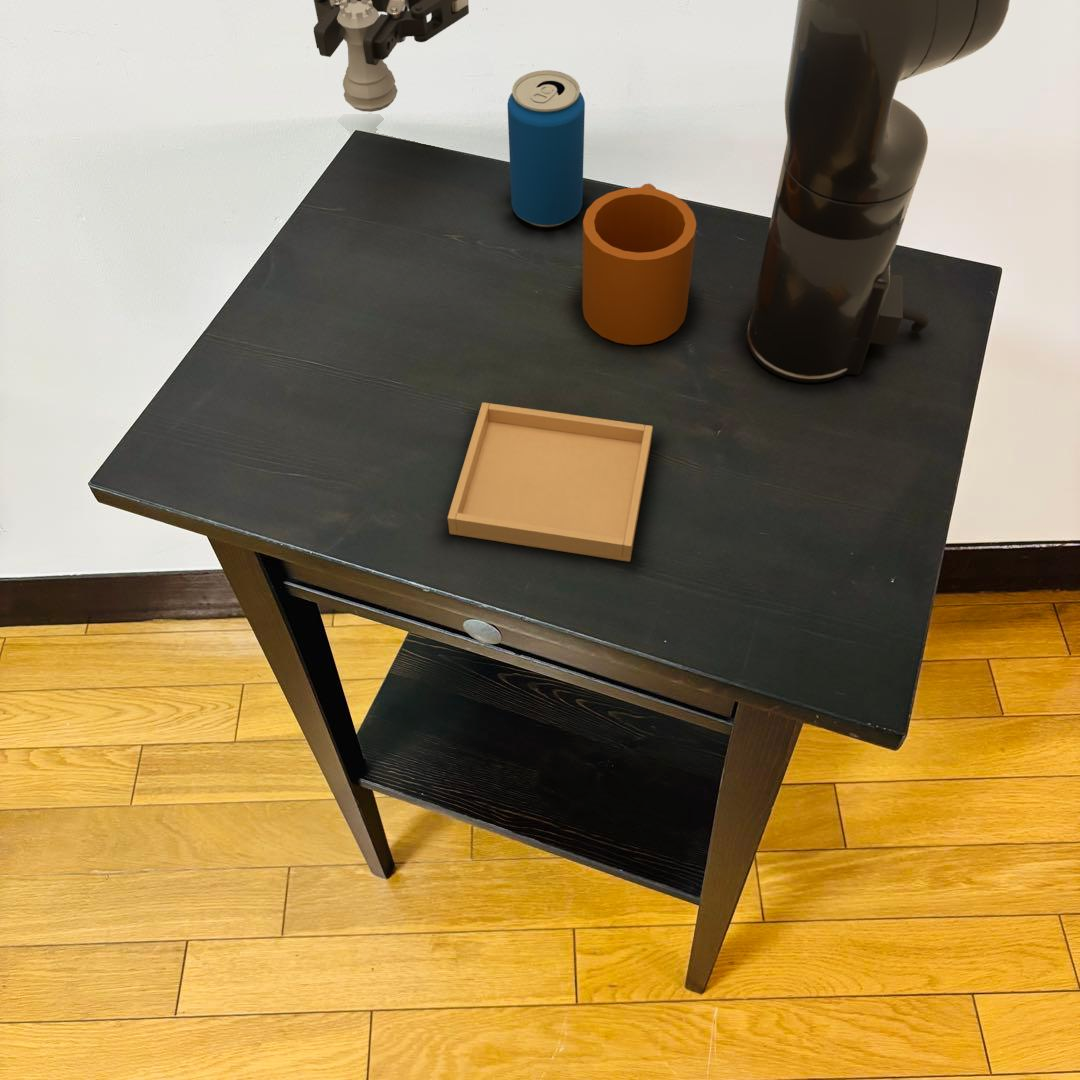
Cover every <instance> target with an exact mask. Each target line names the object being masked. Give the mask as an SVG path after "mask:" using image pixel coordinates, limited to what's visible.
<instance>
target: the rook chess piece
mask: <svg viewBox="0 0 1080 1080" xmlns="http://www.w3.org/2000/svg"><path fill="white" fill-rule="evenodd" d="M350 1H351V3H347V0H343V1H342V2H341V6H340V12H339V14H338V16H337V20H338V23H339V24H341V25H342V26H343V27H344V28H345V32H344V35H343V37H344V39H343V41H345V42H346V45H347V63H348V65H347V67H346V70H345V74H344V77H343V79H342V88H343V90H344V92H343V97H344V100H345V102H346V103H348V104H349V105H350V106H351V107H352V108H354V110H357V111H360V112H368V113H373V112H378V111H381V110H384V109H386V108H388V107H390V105H392V103H393V102H394V101H395V99H396V97H397V95H398V88H397V85H396V79H395V76H394V74H393V72H392V71H391V69H389V68H388V67H389V66H388V65H387V64H386V63H385V62H384V60H380V61H379V63H378V64H377V65H371V64H367V63H366V60H365V54H364V47H363V40H364V37H365V35H366V34H367V33H368V31H369V30H370V28H371V27H372V26H373V24H374V23H375V21H376V20H377V19H378V17H379V16H380V13H379V12H378V11H377V10H376V9H375V8H374V7H373V4H372V1H371V0H369V1H368V0H361V1H357V0H350Z"/></svg>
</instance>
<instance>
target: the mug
mask: <svg viewBox="0 0 1080 1080" xmlns="http://www.w3.org/2000/svg"><path fill="white" fill-rule="evenodd" d="M696 233H697V221H696V217H695V213H694V212H693V209H691V208H690V206H689V204H687V203H686V202H685V201H683V200H682V199H681V198H679V197H678V196H677V195H674V194H673V193H671V192H670V193H669V192H667V191H663V190H661V189H658V188H656V186H655V185H654V184H651V183H644V184H643V185H641V186H638V187H626V188H621V189H617V190H614V191H611V192H607V193H606V194H604V195H601V196H600V197H599V198H597V199H595V200H594V201H593V202H592V203H591V205H589V207H588V208H586V210H585V214H584V217H583V220H582V305H581V306H582V313H583V318H584V320H585V321H586V323H587V324H588V326H589V328H590V329H591V330H592V331H594V332H595V333H597V334H598V335H599V336H600V337H602V338H604V339H607V340H609V341H611V342H614V343H617V344H623V345H629V346H640V345H650V344H653V343H657V342H661V341H663V340H666V339H667V338H668V337H670V336H672V335H673V334H675V333H676V332H677V331H678V330H679V329H680V328H681V326H682V325H683V324H684V322H685V320H686V315H687V311H688V304H689V294H690V285H691V277H692V268H693V258H694V249H695V242H696Z"/></svg>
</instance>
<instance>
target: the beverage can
mask: <svg viewBox="0 0 1080 1080" xmlns="http://www.w3.org/2000/svg"><path fill="white" fill-rule="evenodd" d="M511 91H512V92H511V93H510V95H509V96H508V100H507V124H508V145H509V146H508V151H509V154H508V155H509V172H510V174H509V176H510V198H511V199H510V200H511V201H510V202H511V203H510V204H511V208H512V211H513V212H514V213H515V215H516V217H518V218H519V219H521V220H523V221H524V222H526V223H529V224H531V225H534V226H536V227H542V228H551V227H557V226H560V225H563V224H564V223H566V222H569V221H571V220H572V219H574V218H575V217H576V216H577V215H578V214H579V213H580V211H581V209H582V207H583V198H584V197H583V193H584V191H583V190H584V189H583V188H584V187H583V186H584V151H585V112H586V102H585V98H584V96H583V94H582V92H581V88H580V84H579V82H578V81H577V80H576V79H575V78H574V76H573V77H572V76H571V75H570V74H568V73H565V72H562V71H558V70H550V69H546V70H545V69H543V70H536V71H531V72H528V73H526V74H523V75H522V76H520V77H519V78H518V79H516V81H515V82H514V83H513V85H512V88H511Z"/></svg>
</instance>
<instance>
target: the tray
mask: <svg viewBox="0 0 1080 1080" xmlns="http://www.w3.org/2000/svg"><path fill="white" fill-rule="evenodd" d="M653 429H654V425H648V424H642V423H635V422H627V421H619V420H613V419H606V418H599V417H591V416H585V415H577V414H570V413H563V412H562V413H561V412H555V411H549V410H541V409H534V408H526V407H519V406H512V405H506V404H497V403H489V402H484V401H483V402H481V404H480V409H479V412H478V415H477V419H476V422H475V425H474V428H473V432H472V435H471V438H470V441H469V445H468V448H467V450H466V455H465V458H464V462H463V464H462V468H461V471H460V474H459V478H458V481H457V485H456V488H455V492H454V495H453V498H452V501H451V505H450V507H449V511H448V514H447V517H446V518H447V524H448V525H447V526H448V532H449V535H453V536H454V535H455V536H460V537H461V536H462V537H467V538H474V539H480V540H485V541H493V542H500V543H506V544H512V545H519V546H525V547H531V548H539V549H544V550H552V551H558V552H565V553H570V554H577V555H582V556H591V557H595V558H596V557H597V558H602V559H610V560H614V561H615V560H616V561H622V562H629V563H630V562H631V561H632V553H633V548H634V541H635V536H636V531H637V524H638V520H639V513H640V508H641V502H642V496H643V490H644V485H645V480H646V474H647V468H648V463H649V457H650V452H651V444H652V438H653Z"/></svg>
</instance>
